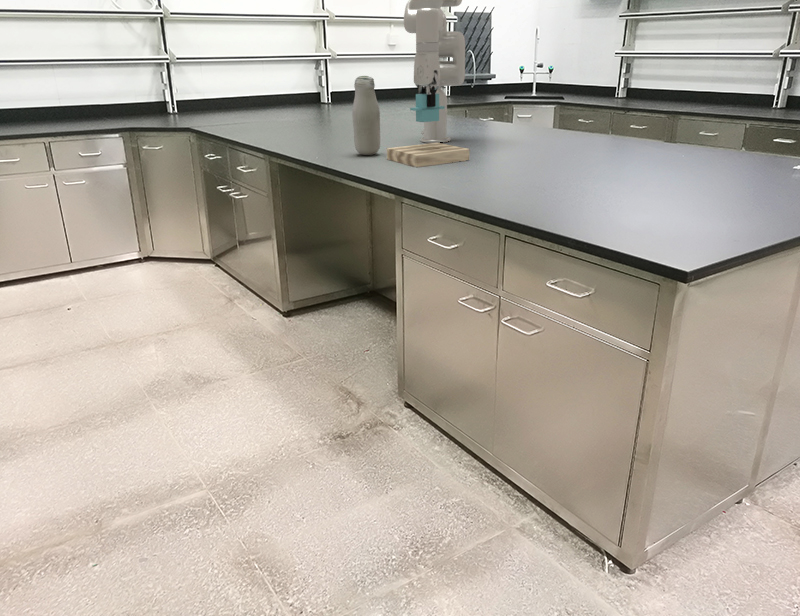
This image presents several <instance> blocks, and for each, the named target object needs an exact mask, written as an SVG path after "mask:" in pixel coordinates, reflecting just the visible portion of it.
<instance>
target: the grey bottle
mask: <svg viewBox="0 0 800 616" xmlns="http://www.w3.org/2000/svg"><path fill="white" fill-rule="evenodd" d="M374 80H375V79H374V78H373V77H372V76H369V75H360V76H357V77H356V78H355V79H354V99H353V104H352V109H351V111H352V114H351V118H352V127H353V140H354V142H353V143H354V147H355V150H356V152H357V153H359V154H360V155H363V156H373V155H375V154H377V153H378V152H379V150H380V148H381V115H380V114H381V113H380V107H379V102H378V100H377V96H376V92H375V86H376V85H375V81H374Z"/></svg>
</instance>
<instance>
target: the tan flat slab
mask: <svg viewBox="0 0 800 616" xmlns="http://www.w3.org/2000/svg"><path fill="white" fill-rule="evenodd" d="M470 154H471V153H470V148H466V147H460V146H456V145H451V144H446V143H423V144H414V145H413V144H412V145H405V146H404V145H403V146H396V147H395V146H394V147H387V148H386V160H389V161H393V162H396V163H400V164H404V165H407V166H410V167H413V168H414V167H415V168H420V167H429V166H435V165H443V164H445V165H446V164H451V163H452V162H453V163H459V161H461V162H467V161H466V160H469V161H470Z"/></svg>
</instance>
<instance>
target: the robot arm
mask: <svg viewBox="0 0 800 616" xmlns="http://www.w3.org/2000/svg"><path fill="white" fill-rule="evenodd" d="M462 1H463V0H408V1H407V3H406V5H405V8H404V15H403V27H404V30H405V31H406V32H407V33H409V34H415V42H416V43H415V51H416V52H415V55H414V63H413V84H414V85H415V87H416V88H417V90H418V93H417V94H426V93H428V94H429V95H427V107H435V106H436V93H438V94H439V106H445V109H439V121H431V122H423V123H424V125H423V126H424V127H423V130H422V131H421V133H420V134H421V135H423V137H420V142H422V143H425V144H430V143H440V142H443V143H449V142H450V141H451V137H449V136H448V135H447V133H448V132H447V131H448V129H447V126H448V125H447V124H448V122H447V121H448V97H447V94H446V93H445V92H444V90H443V89H442V88H441V87H454V86H455V87H457V86H462V85H463V84H464V82H465V75H466V39H465V36H464V34H463V32H461V31H454V30H453V31H451V30H450V31H448V30H447V16H446V14H445V13H444V11H443V10H442V9H441V8H447V7H448V8H450V7H452V8H453V7H454V8H455V7H458V6H460V5H461V4H462ZM440 58H452V59H453V60H440ZM448 141H449V142H448Z"/></svg>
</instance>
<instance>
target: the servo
mask: <svg viewBox="0 0 800 616" xmlns="http://www.w3.org/2000/svg"><path fill="white" fill-rule="evenodd" d="M427 95H429V94H428V93H426V94H419V93H415V106H414V107H409V109H410V111H415V122H418V123H424V122H431V121H439V109H445V106H439V94H438V93H436V106H435V107H427Z"/></svg>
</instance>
